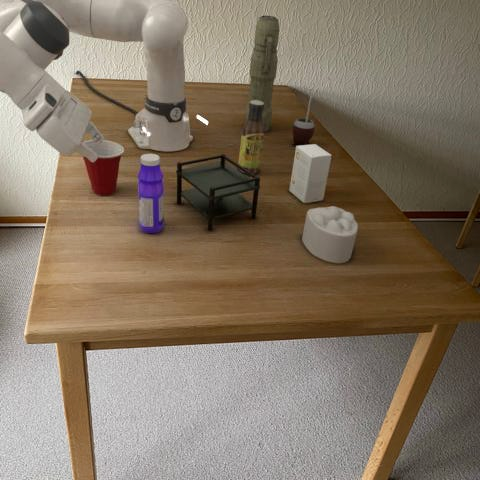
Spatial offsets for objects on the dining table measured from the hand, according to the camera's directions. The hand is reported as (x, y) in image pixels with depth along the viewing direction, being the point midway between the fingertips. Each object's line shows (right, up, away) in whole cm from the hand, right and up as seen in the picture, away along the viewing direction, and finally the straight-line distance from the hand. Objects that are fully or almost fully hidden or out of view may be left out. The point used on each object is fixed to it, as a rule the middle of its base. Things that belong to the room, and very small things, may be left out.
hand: (99, 149), depth 108 cm
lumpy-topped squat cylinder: (+51, -20, +12) cm, 56 cm away
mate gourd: (+50, +19, +63) cm, 83 cm away
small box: (+48, -4, +33) cm, 58 cm away
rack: (+24, -9, +21) cm, 33 cm away
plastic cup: (-5, -4, +25) cm, 26 cm away
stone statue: (+36, +27, +72) cm, 85 cm away
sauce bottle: (+32, +5, +43) cm, 54 cm away
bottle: (+9, -15, +13) cm, 21 cm away
